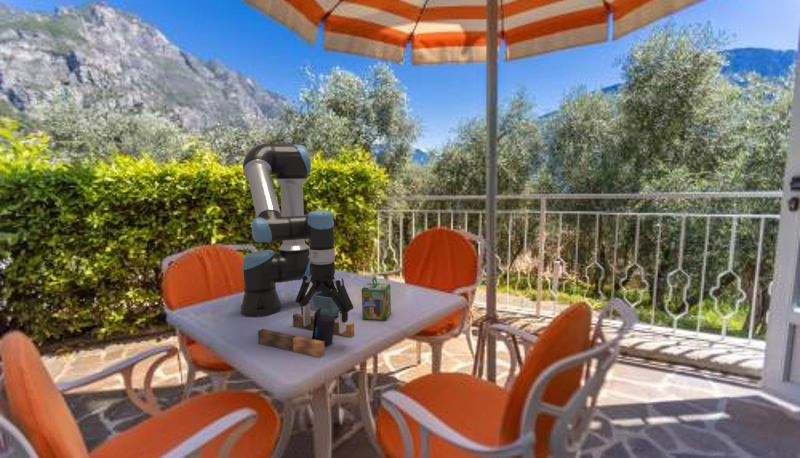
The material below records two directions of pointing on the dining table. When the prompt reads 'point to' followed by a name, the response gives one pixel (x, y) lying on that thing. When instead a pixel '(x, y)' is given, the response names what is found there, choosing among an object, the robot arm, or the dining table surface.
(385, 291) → the chalk box
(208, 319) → the dining table surface
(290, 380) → the dining table surface
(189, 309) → the dining table surface
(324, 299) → the flower pot
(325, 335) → the speaker
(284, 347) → the channel
